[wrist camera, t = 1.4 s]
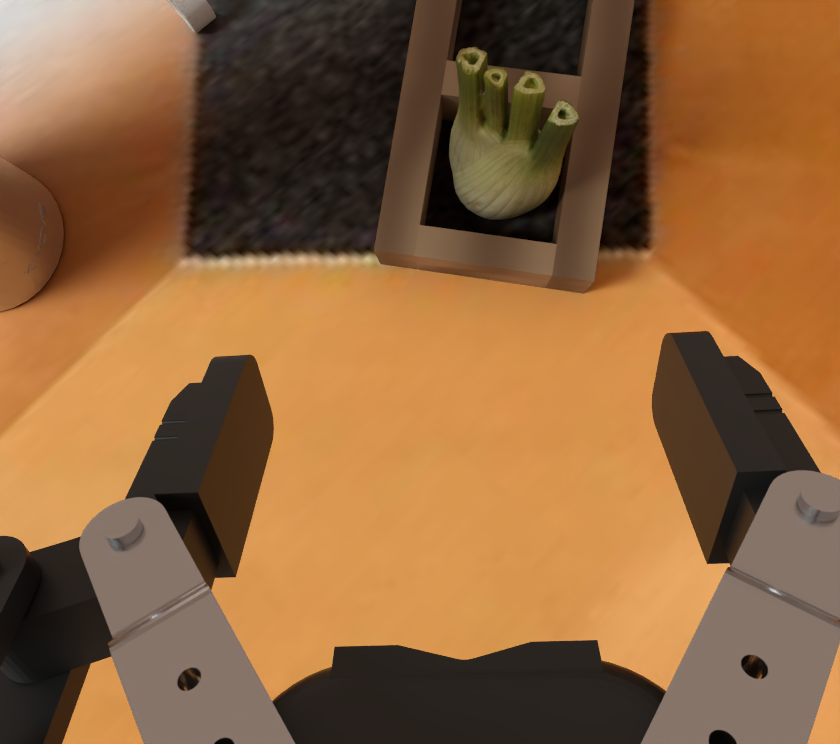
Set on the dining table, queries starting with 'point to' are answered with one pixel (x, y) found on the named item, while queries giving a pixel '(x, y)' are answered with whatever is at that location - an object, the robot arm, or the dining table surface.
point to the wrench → (194, 13)
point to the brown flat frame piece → (439, 100)
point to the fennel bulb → (505, 140)
